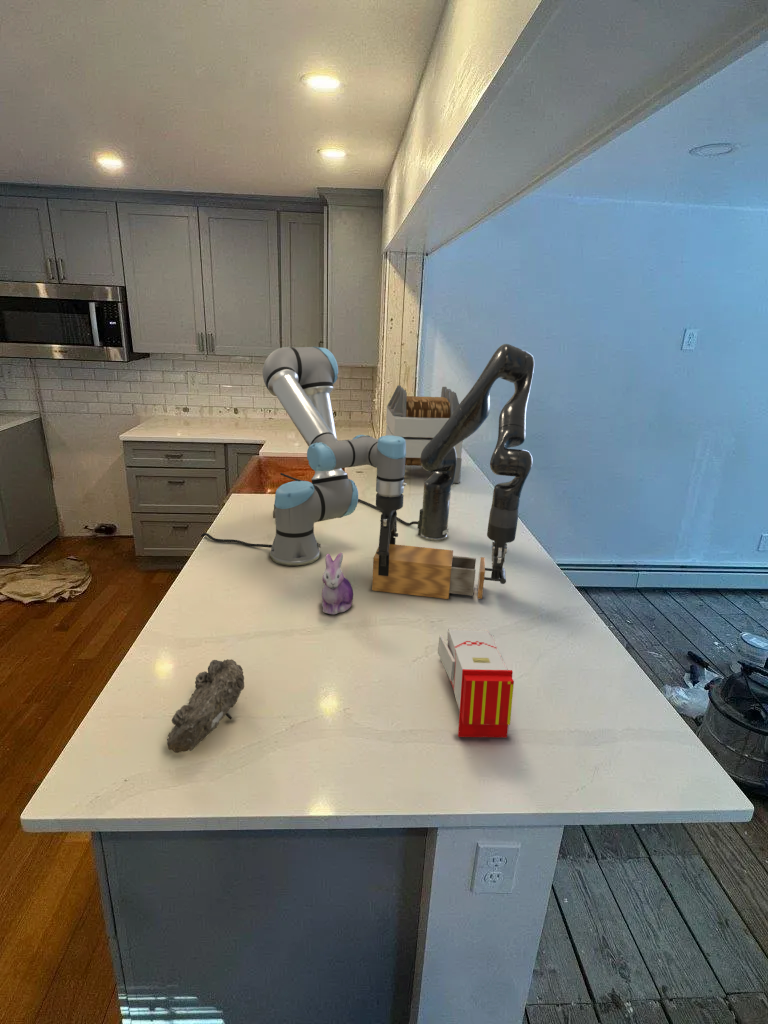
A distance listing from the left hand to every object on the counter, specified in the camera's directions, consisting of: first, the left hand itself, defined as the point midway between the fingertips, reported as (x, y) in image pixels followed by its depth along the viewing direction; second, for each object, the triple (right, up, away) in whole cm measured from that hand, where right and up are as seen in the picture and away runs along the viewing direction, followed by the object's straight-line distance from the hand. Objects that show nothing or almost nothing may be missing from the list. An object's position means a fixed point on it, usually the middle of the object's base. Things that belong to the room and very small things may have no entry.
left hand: (386, 566), depth 162 cm
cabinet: (+7, -6, +1) cm, 9 cm away
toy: (+17, -22, -43) cm, 52 cm away
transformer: (+16, +34, +113) cm, 119 cm away
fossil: (-34, -24, -54) cm, 68 cm away
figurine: (-13, -10, -12) cm, 20 cm away
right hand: (+30, -3, -4) cm, 31 cm away
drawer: (+20, -6, -1) cm, 21 cm away
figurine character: (-38, +13, +47) cm, 62 cm away
